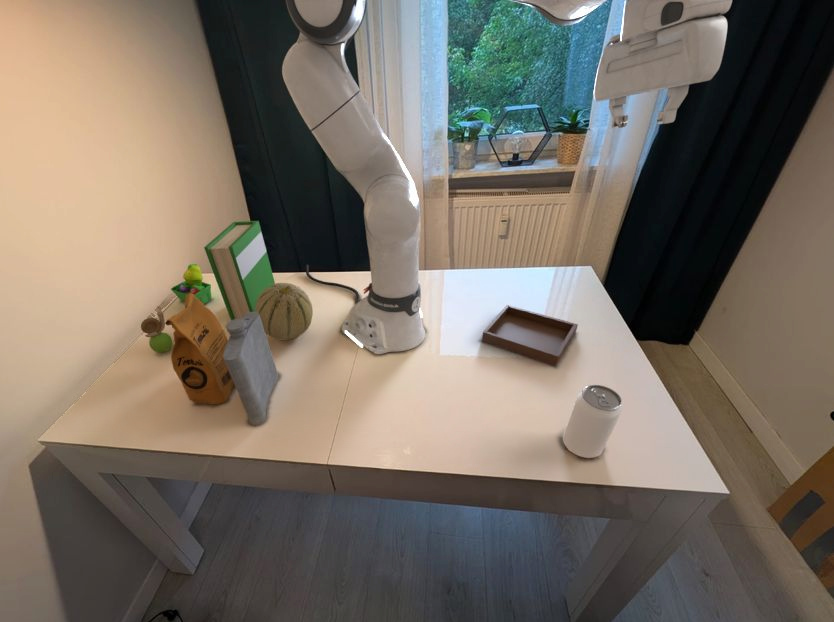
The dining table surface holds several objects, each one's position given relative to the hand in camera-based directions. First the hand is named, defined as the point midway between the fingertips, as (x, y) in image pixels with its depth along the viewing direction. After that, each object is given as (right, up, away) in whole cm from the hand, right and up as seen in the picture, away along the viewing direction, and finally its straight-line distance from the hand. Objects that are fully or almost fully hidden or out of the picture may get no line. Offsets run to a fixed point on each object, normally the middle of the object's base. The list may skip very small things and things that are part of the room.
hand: (640, 125), depth 63 cm
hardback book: (-79, -26, +51) cm, 97 cm away
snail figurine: (-100, -37, +39) cm, 113 cm away
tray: (-6, -34, +30) cm, 46 cm away
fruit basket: (-101, -21, +60) cm, 119 cm away
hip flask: (-69, -48, +21) cm, 86 cm away
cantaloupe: (-67, -33, +40) cm, 84 cm away
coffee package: (-81, -46, +25) cm, 96 cm away
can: (-7, -54, +5) cm, 55 cm away
